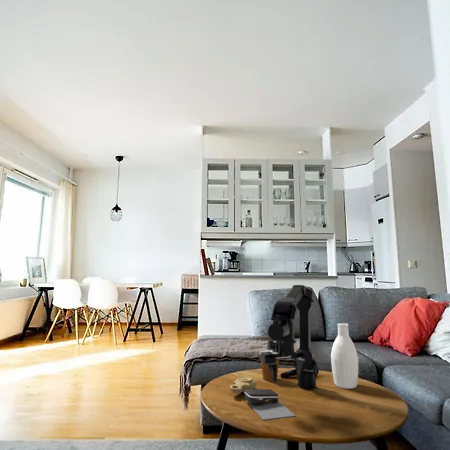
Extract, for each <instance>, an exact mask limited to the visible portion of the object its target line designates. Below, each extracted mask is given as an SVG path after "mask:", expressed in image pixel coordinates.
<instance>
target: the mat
mask: <svg viewBox="0 0 450 450" xmlns="http://www.w3.org/2000/svg"><path fill="white" fill-rule="evenodd" d="M248 405H249V406H250V407H251V408H252V410H254V412H255V413H256V414H257V415H258V416H259V418H260V419H261V420H262V421H267V420H276V419H283V418H284V419H286V418H292V417H296V415H295V414H294V413H293V412H292V411H291V410H290V409H289V408H287V407H286V406H285V405H284V404H283V403H281V402H280V401H279V400H278V402H277V403H275V402H274V401H272V400H265V401H263V405H252V404H250V403H249V402H248Z"/></svg>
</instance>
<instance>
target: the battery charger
mask: <svg viewBox="0 0 450 450" xmlns="http://www.w3.org/2000/svg"><path fill="white" fill-rule="evenodd" d="M279 398H280V397H279V394H278V393H277V392H276V391H274V390H273V389H270V388H267V389H266V388H254V389H246V390H245V393H244V400H245V401H246V402H248V404H249V403H250V404H252V405H263V402H265V401H274V402H275V403H277V402H278V401H279Z"/></svg>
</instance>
